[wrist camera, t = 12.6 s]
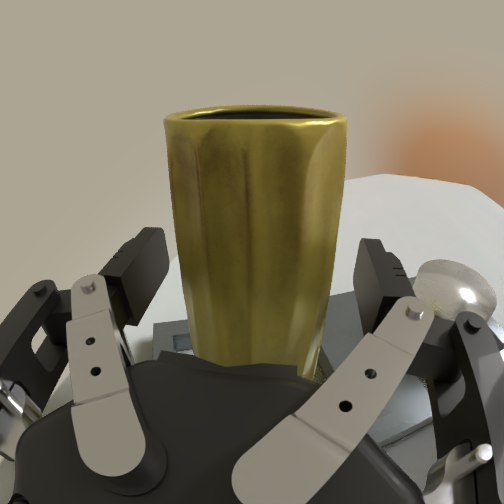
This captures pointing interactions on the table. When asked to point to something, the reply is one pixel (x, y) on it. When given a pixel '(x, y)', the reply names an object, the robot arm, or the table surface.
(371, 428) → the grey rectangular frame
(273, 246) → the vase
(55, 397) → the table surface
